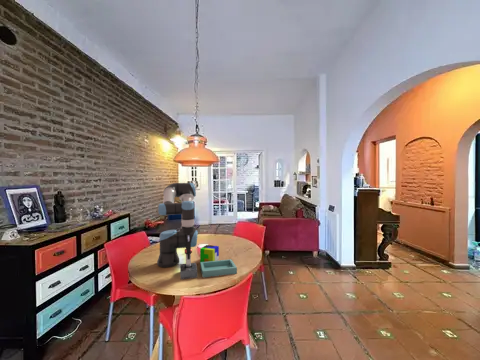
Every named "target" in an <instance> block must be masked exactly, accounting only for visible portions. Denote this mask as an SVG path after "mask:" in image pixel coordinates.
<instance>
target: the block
mask: <svg viewBox="0 0 480 360" xmlns="http://www.w3.org/2000/svg"><path fill="white" fill-rule="evenodd" d="M179 264H180V265H179V266H180V267H179V268H180V270H179V273H180V275H179V276H180V280H189V279H195V278H198V266H197V262H191V268H186V263H179Z"/></svg>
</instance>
